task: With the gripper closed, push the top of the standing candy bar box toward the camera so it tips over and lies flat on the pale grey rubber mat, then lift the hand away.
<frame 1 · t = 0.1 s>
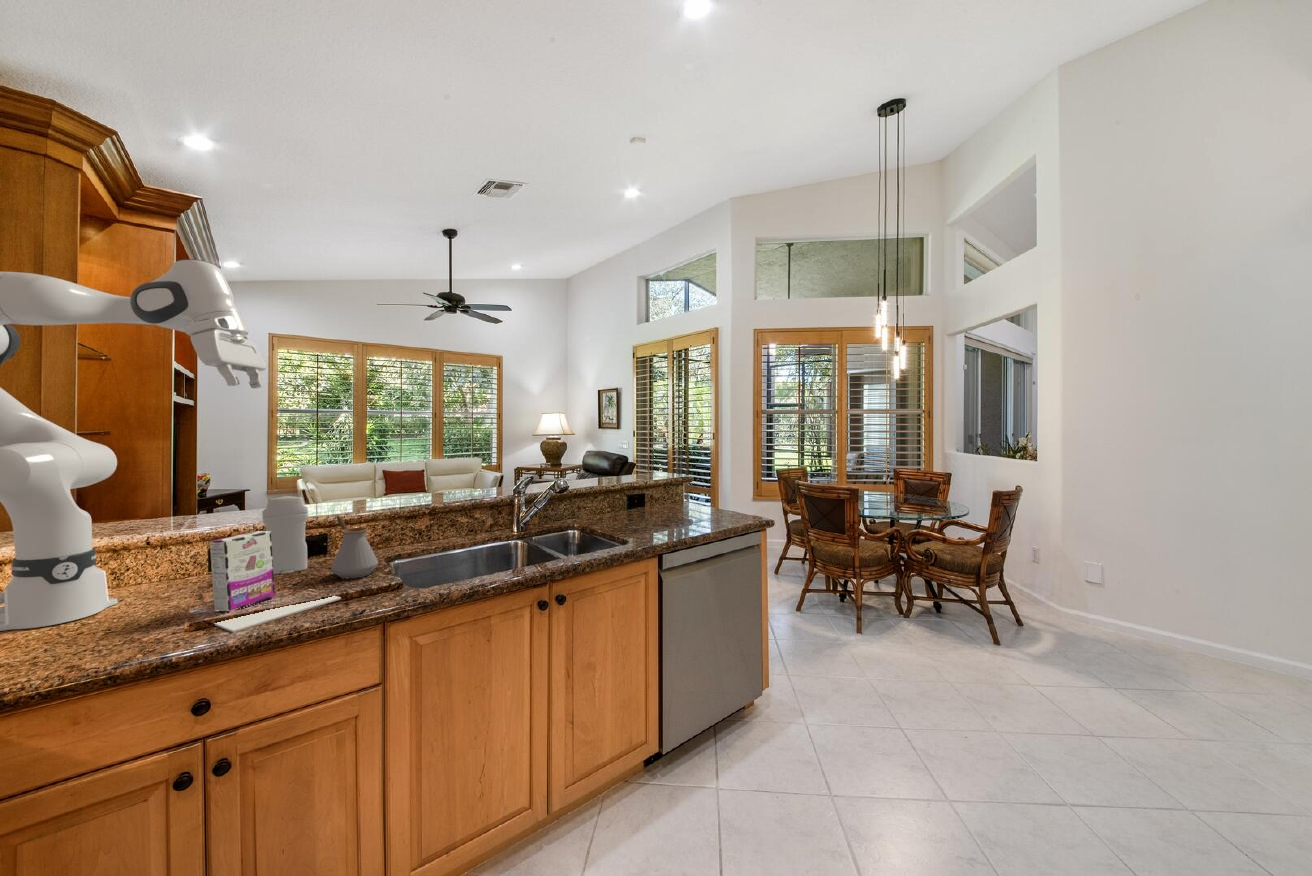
hand: (246, 386, 118), 52 cm above the countertop, tool tilted 20°, fingers open, 8 cm apart
gray flat bottle: (286, 572, 146), on the countertop
coffee pot: (349, 571, 147), on the countertop
candy bar box: (244, 604, 120), on the countertop, touching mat
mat: (276, 609, 117), on the countertop
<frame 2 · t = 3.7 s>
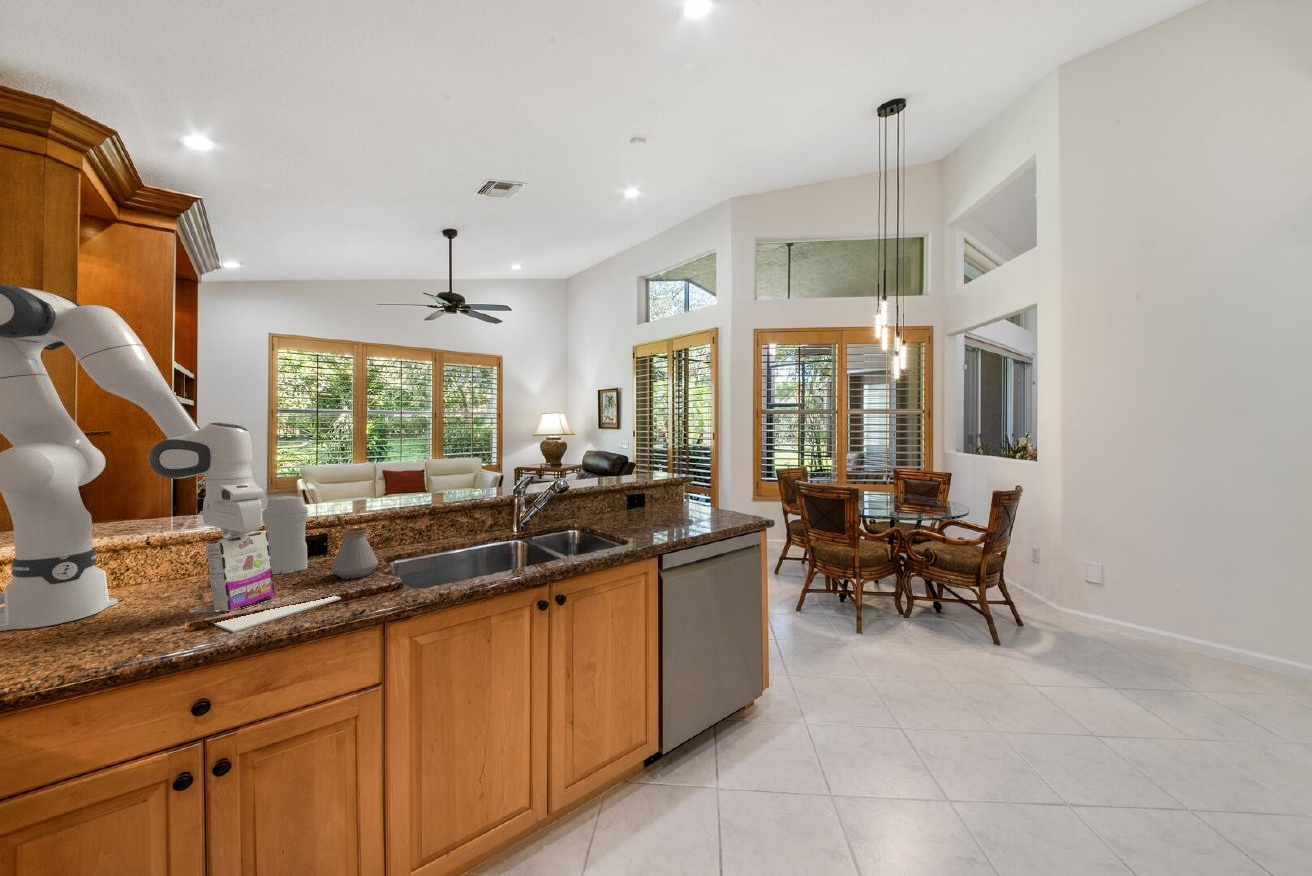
hand: (231, 546, 123), 13 cm above the countertop, tool pointing down, fingers closed
candy bar box: (245, 604, 120), on the countertop, touching gripper, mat
everything else where it was.
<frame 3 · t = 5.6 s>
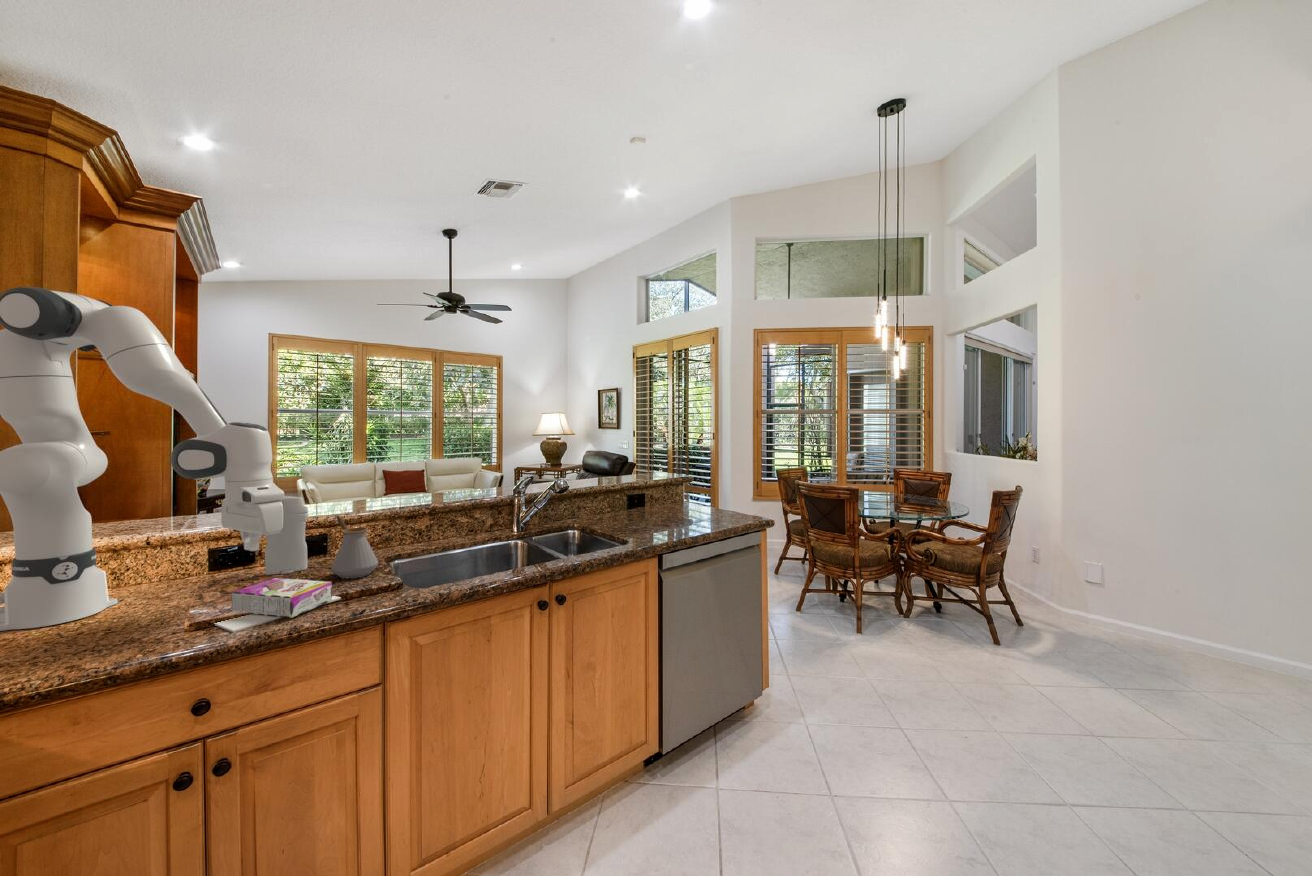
hand: (251, 549, 119), 13 cm above the countertop, tool pointing down, fingers closed
candy bar box: (253, 593, 119), point 3 cm above the countertop, touching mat
everything else where it was.
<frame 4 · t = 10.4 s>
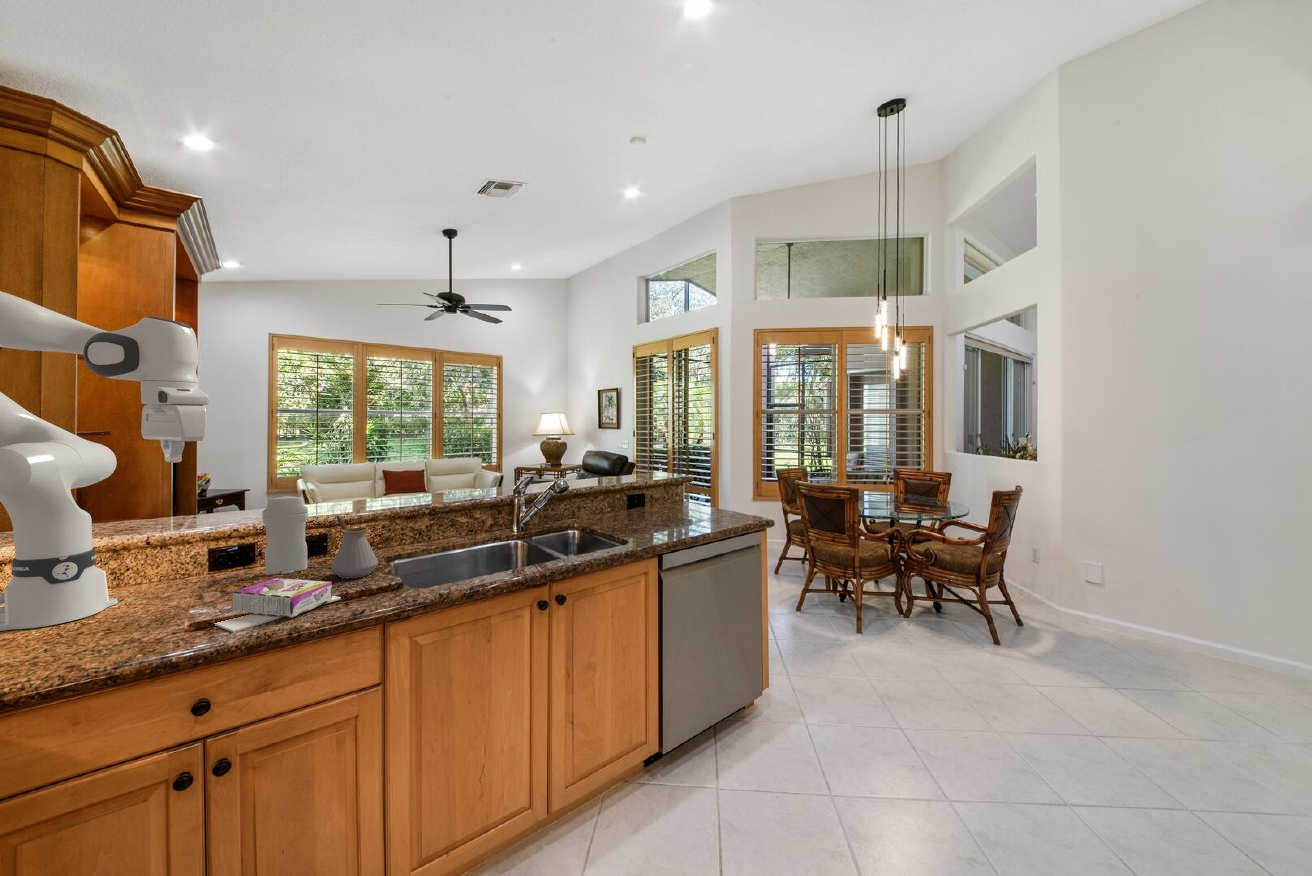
hand: (173, 462, 106), 35 cm above the countertop, tool pointing down, fingers closed
nothing on the countertop moved.
at the end: candy bar box tilted 91°; candy bar box touching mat; candy bar box inside the target area (2.7 cm from its centre), point 2.9 cm above the countertop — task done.
